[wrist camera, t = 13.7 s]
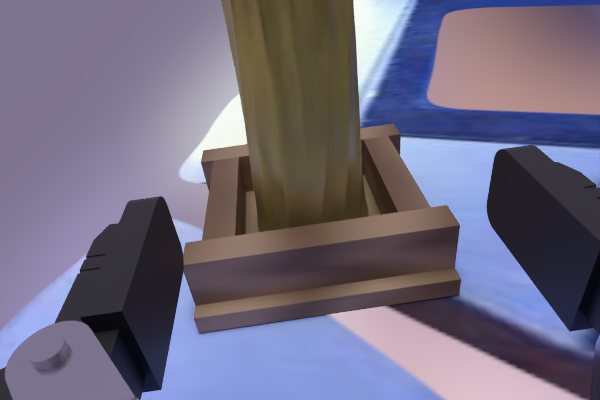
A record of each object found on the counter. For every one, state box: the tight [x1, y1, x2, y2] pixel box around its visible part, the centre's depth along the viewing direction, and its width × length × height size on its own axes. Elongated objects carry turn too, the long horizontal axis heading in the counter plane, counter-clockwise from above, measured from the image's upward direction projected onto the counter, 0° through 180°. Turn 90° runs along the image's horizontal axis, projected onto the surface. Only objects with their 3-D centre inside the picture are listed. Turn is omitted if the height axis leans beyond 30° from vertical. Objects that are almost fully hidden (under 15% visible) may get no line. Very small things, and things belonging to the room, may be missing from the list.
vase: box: [221, 0, 369, 232], centre depth 20 cm, size 6×6×14 cm
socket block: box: [183, 124, 461, 333], centre depth 24 cm, size 12×12×4 cm
